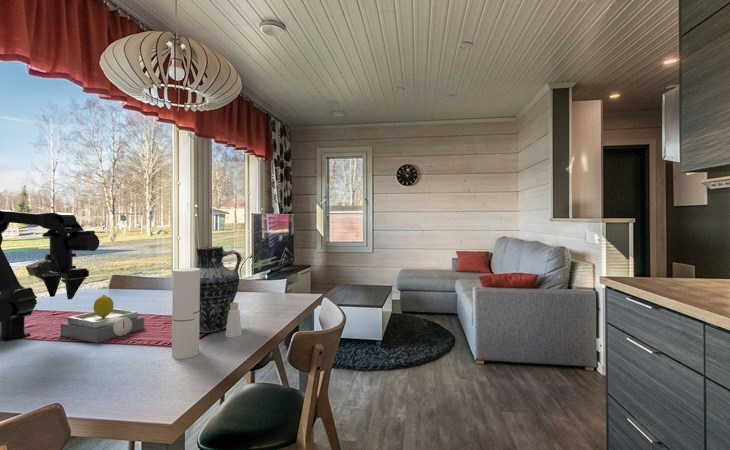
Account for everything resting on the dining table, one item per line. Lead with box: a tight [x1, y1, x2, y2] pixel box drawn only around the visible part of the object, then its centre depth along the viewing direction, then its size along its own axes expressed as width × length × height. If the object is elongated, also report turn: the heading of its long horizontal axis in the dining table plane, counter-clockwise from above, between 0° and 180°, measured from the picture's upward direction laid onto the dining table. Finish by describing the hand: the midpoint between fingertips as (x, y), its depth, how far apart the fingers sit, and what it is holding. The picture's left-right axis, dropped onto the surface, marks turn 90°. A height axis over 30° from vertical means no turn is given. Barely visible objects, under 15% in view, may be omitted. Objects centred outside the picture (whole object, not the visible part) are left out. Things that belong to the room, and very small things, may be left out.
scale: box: [60, 316, 145, 344], centre depth 120 cm, size 19×16×6 cm
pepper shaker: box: [225, 302, 242, 339], centre depth 120 cm, size 5×5×11 cm
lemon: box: [93, 294, 114, 318], centre depth 121 cm, size 6×6×8 cm
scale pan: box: [67, 307, 139, 328], centre depth 121 cm, size 14×14×2 cm
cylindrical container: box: [171, 267, 200, 360], centre depth 102 cm, size 7×7×25 cm
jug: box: [194, 245, 243, 333], centre depth 126 cm, size 21×19×30 cm
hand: (61, 297), depth 115 cm, fingers open, 9 cm apart
